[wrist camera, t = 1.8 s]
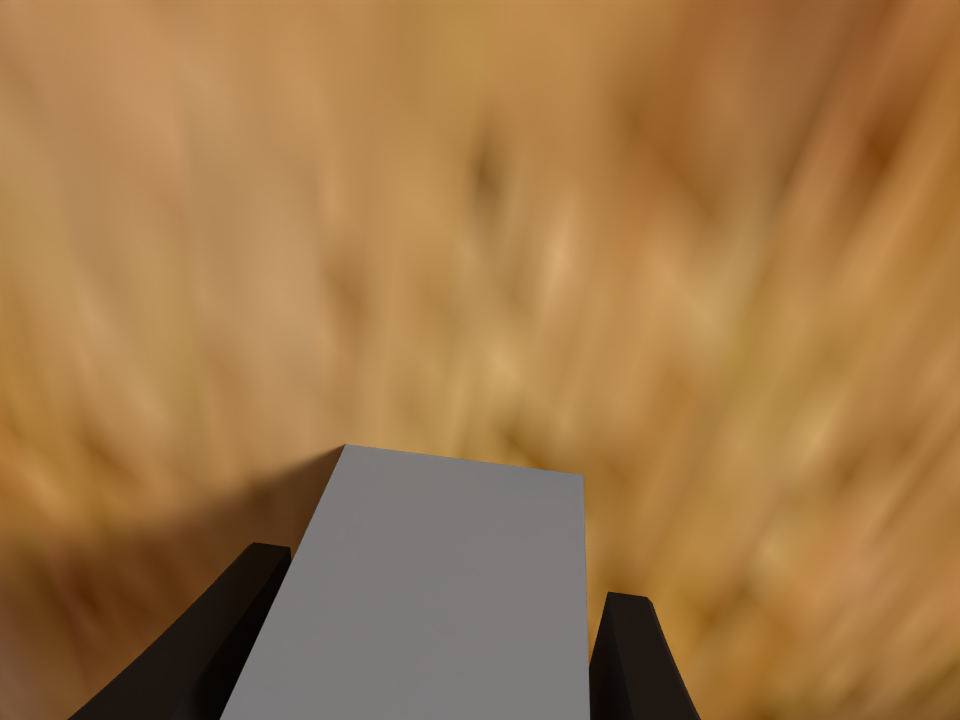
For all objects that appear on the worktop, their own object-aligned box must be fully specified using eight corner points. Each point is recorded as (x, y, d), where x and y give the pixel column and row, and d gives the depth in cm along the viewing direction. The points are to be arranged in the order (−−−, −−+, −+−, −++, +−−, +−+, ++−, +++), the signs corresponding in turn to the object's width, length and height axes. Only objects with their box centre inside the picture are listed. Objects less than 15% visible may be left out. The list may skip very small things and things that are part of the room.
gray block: (583, 473, 11) (592, 792, 7) (552, 629, 13) (543, 949, 9) (346, 442, 11) (214, 733, 7) (352, 600, 14) (252, 898, 9)
